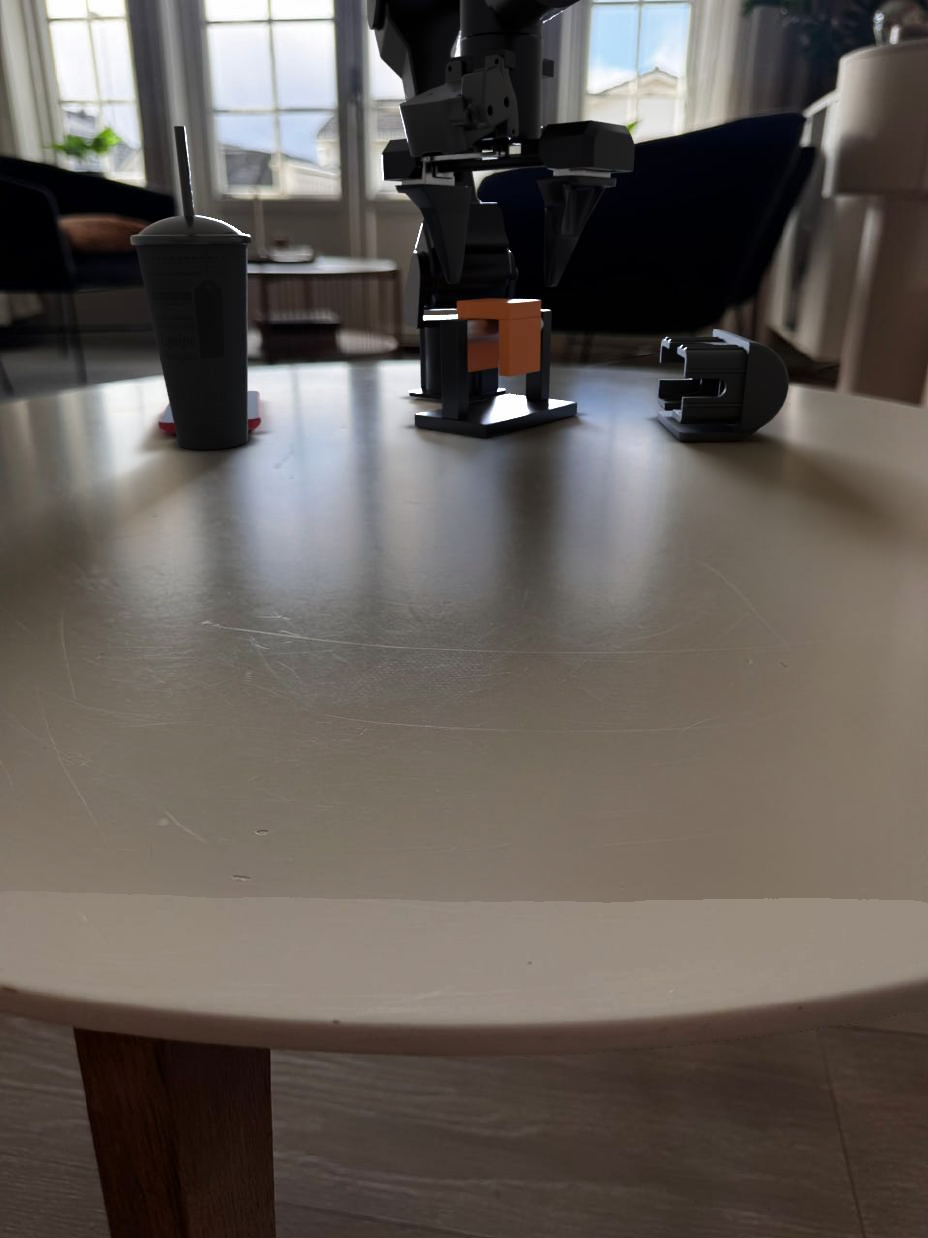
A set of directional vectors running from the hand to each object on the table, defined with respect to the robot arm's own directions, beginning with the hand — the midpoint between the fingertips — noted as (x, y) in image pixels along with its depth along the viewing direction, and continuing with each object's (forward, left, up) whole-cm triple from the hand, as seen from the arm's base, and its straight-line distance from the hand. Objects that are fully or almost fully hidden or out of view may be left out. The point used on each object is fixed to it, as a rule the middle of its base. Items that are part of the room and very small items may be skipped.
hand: (500, 284), depth 69 cm
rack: (0, 0, -10) cm, 10 cm away
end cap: (+15, +7, -10) cm, 19 cm away
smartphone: (-19, -13, -10) cm, 25 cm away
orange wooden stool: (0, 0, -6) cm, 6 cm away
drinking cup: (-11, -19, -10) cm, 24 cm away
